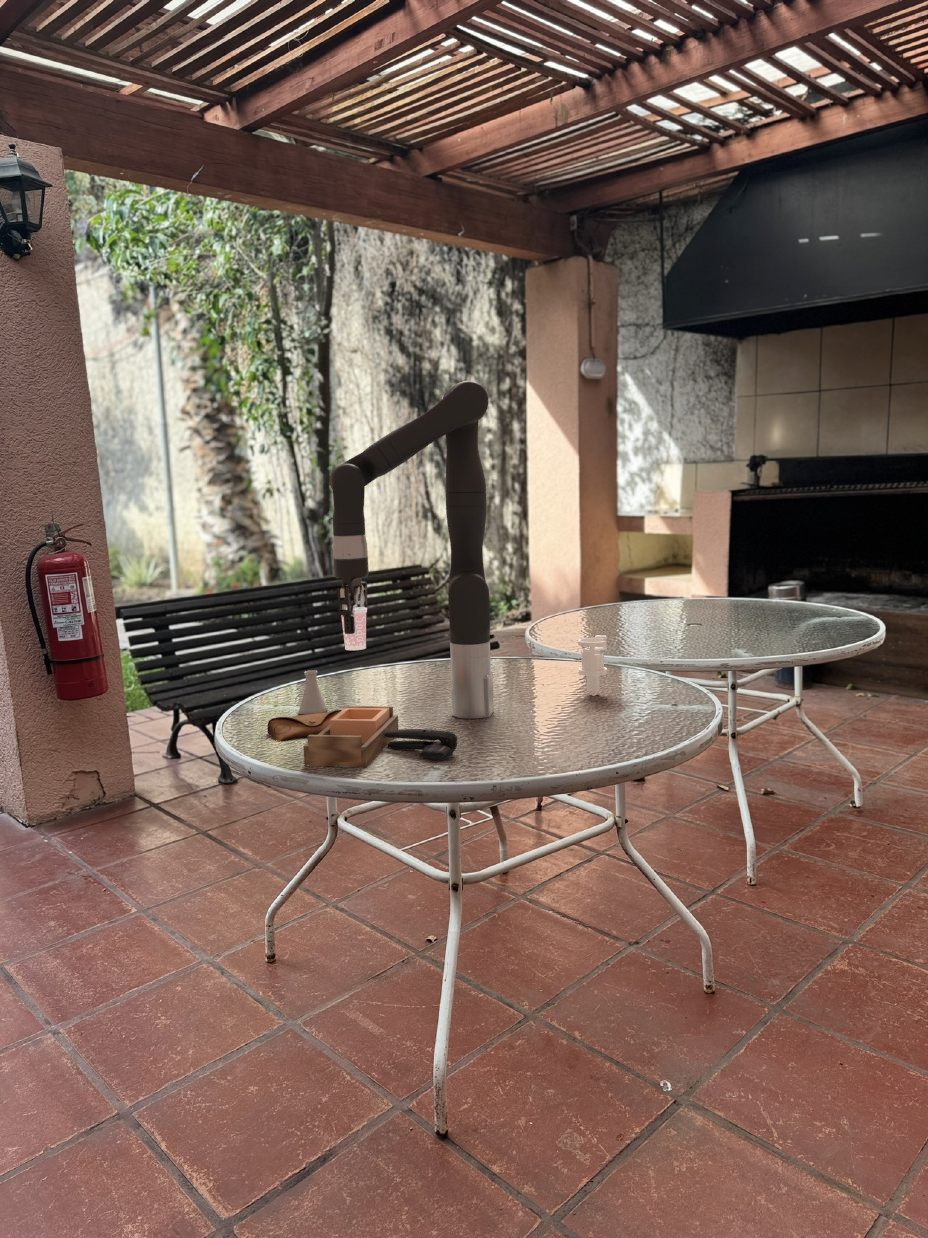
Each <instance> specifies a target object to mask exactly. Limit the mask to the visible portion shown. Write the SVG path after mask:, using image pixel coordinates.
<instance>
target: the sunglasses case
mask: <svg viewBox="0 0 928 1238" xmlns="http://www.w3.org/2000/svg"><path fill="white" fill-rule="evenodd" d="M342 710H343V709H335V710H332V711H327V712H324V713H316V714H307V715H304V714H299V715H294V716H280V717H279V716H278V717H273V718H271V719H269V721H268V722H267V735H269V736H270V737H271V738H272V739H273V740H274V741H276V740H277V741H276V742H277V743H279V742H280V741H281V742H286V741H285V740H287V741H292V740H298V739H304V738H305V739H306V738H308V735H318V734H319V733H320V732H321V731H323V730H324V729H325V728H326V727H328V726H329V725H330V720H331V719H332V718H333V717H334V716H336V715H337V714H338V713H339V712H341V711H342Z"/></svg>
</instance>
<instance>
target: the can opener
mask: <svg viewBox="0 0 928 1238" xmlns="http://www.w3.org/2000/svg"><path fill="white" fill-rule="evenodd" d="M385 736H386V737H387V738H394V739H406V740H392V741H391V742H389V743H388V745H387V747H388V748H389V749H392V750H398V751H414V750H415V751H417V750H419V751H420V752H419V757H420V758H421V759H423V760H425V761H429V762H431V761H432V762H440V761H444V760H446V759H448V758H450V757H451V756H453V754H454V752H455V751H456V749H457V746H458V736H457V734H455V733H454V732H452V731H450V730H438V729H437V730H436V729H433V728H431V727H426V728H425V729H424V728H408V729H407V728H405V729H398V730H391V731H388V732H386V734H385ZM408 739H409V740H408ZM410 739H411V740H410ZM437 740H438V741H437Z"/></svg>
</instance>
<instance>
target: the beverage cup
mask: <svg viewBox="0 0 928 1238" xmlns="http://www.w3.org/2000/svg"><path fill="white" fill-rule="evenodd" d="M346 610H347V608H346ZM367 612H368V607H367V608H366V607H355V612H354V621H355V633H353V634H345V632H344V617H342V615H340V616H341V623H342V630H343V631H342V633H343V641H344V649H345V650H346V651H361V650H365V649H367Z"/></svg>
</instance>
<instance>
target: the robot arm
mask: <svg viewBox="0 0 928 1238" xmlns="http://www.w3.org/2000/svg"><path fill="white" fill-rule="evenodd" d="M489 400H490V399H489V396H488V392H487V391H486V389H485V388H484V387H483V386H482V385H481V384H479V383H478V382H475V381H473V380H472V381H471V380H464V381H460V382H458V383H455V384H454V385H452V386H450V387H449V388H447V390H446V392H445V393H444V395H443V397H442V399H441V400H440V401H438V402H437V404H436V405H434V406H433V407H431V408H430V409H429V410H427V411H426V412H424V413H422V414H420V415H419V416H417V417H416V418H414V419H412V420H411V421H409V422H407V423H405V424H403V425H402V426H399V427H398V428H395V429H394V430H393V431H391V432H389V433H387V434H386V435H384V436H383V437H381V438H379V439H378V440H377V441H374V442H373V443H372V444H371V445H369V446H368V447H366V448H365V449H364V450H363V451H362V452H360V453H358V454H357V455H354V456H353V457H351V458H349V459H348V460H345V461H344V462H342V463H341V464H339V465H337V466H336V467H334V469H333V470H332V471H331V473H330V475H329V486H330V489H331V490H332V497H333V498H332V499H333V513H332V530H333V531H332V533H333V539H332V541H333V542H332V544H333V545H332V554H333V572H334V578H336V579H341V580H342V581H341V582H342V583H341V587H340V588H339V587H337V588H336V594H337V595H336V596H337V604H338V605H337V607H338V614H339V616H341V615H342V617H344V632H345V634H353V633H355V621H354V612H355V607H366V608H367V609H368V583H367V581H362V579H363V578H364V579H365V578H368V576H369V574H370V573H369V555H368V553H369V551H368V542H367V541H368V540H367V536H366V519H365V512H364V511H365V509H364V508H365V494H366V493H365V492H366V491H365V488H366V486H368V485H369V484H370V483H371V482H373V481H375V480H376V479H378V478H379V477H383V476H385V475H387V474H389V473H391V472H392V471H393V470H395V469H397V468H398V467H399V466H401V465H403V464H404V463H406V462H407V461H408V460H409V459H411V458H413V457H414V456H415V455H417V454H418V453H420V452H421V451H422V450H425V449H426V448H427V447H428V446H429V445H431V444H432V443H434V442H435V441H437V440H438V439H440V438H442V437H443V436H445V446H446V454H445V455H446V458H445V513H446V514H445V515H446V523H447V531H448V536H449V537H448V538H449V543H450V569H449V571H450V572H449V581H448V588H447V594H448V595H447V596H448V598H447V599H448V621H449V623H448V624H449V625H448V626H449V628H448V630H449V649H450V650H449V651H450V652H449V653H450V681H451V684H450V685H451V708H452V716H453V717H455V718H459V719H467V720H468V719H470V720H471V719H481V718H491V716H492V714H493V713H494V711H495V709H494V679H493V677H494V676H493V675H494V674H493V671H492V669H491V668H492V667H491V663H492V662H491V635H490V634H491V612H490V611H491V608H490V607H491V606H490V605H491V604H490V603H491V602H490V599H491V598H490V589H489V586H488V584H487V580H486V575H485V574H486V573H485V567H484V556H483V555H484V553H483V550H484V549H483V547H484V546H483V545H484V539H485V538H484V537H485V532H486V523H487V521H486V520H487V484H486V483H487V482H486V477H485V473H484V468H483V465H482V460H481V456H480V452H479V443H478V442H479V437H478V436H479V421H480V420H481V419H483V417H484V416H485V414H486V412H487V410H488V408H489V404H490V403H489V402H490V401H489ZM346 608H347V610H346ZM342 617H341V618H342Z"/></svg>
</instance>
